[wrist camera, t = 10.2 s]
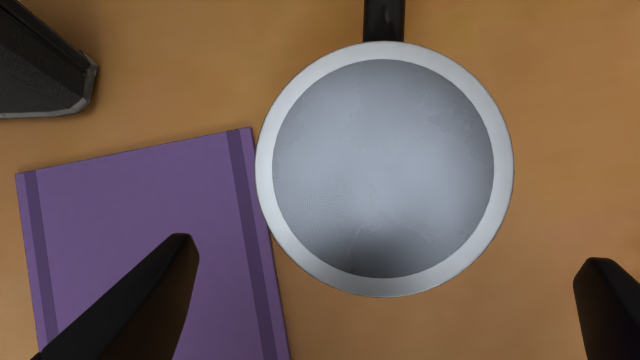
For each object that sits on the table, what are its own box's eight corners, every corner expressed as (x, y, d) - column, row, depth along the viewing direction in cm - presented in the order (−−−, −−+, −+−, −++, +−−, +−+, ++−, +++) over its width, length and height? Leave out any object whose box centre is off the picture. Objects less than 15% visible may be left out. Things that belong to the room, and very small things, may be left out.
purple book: (314, 495, 19) (313, 500, 19) (66, 519, 20) (62, 524, 20) (251, 127, 20) (249, 126, 19) (19, 174, 21) (13, 173, 21)
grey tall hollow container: (441, 252, 19) (511, 308, 10) (302, 244, 19) (247, 289, 10) (451, -25, 19) (528, -222, 10) (314, -23, 20) (271, -202, 11)
